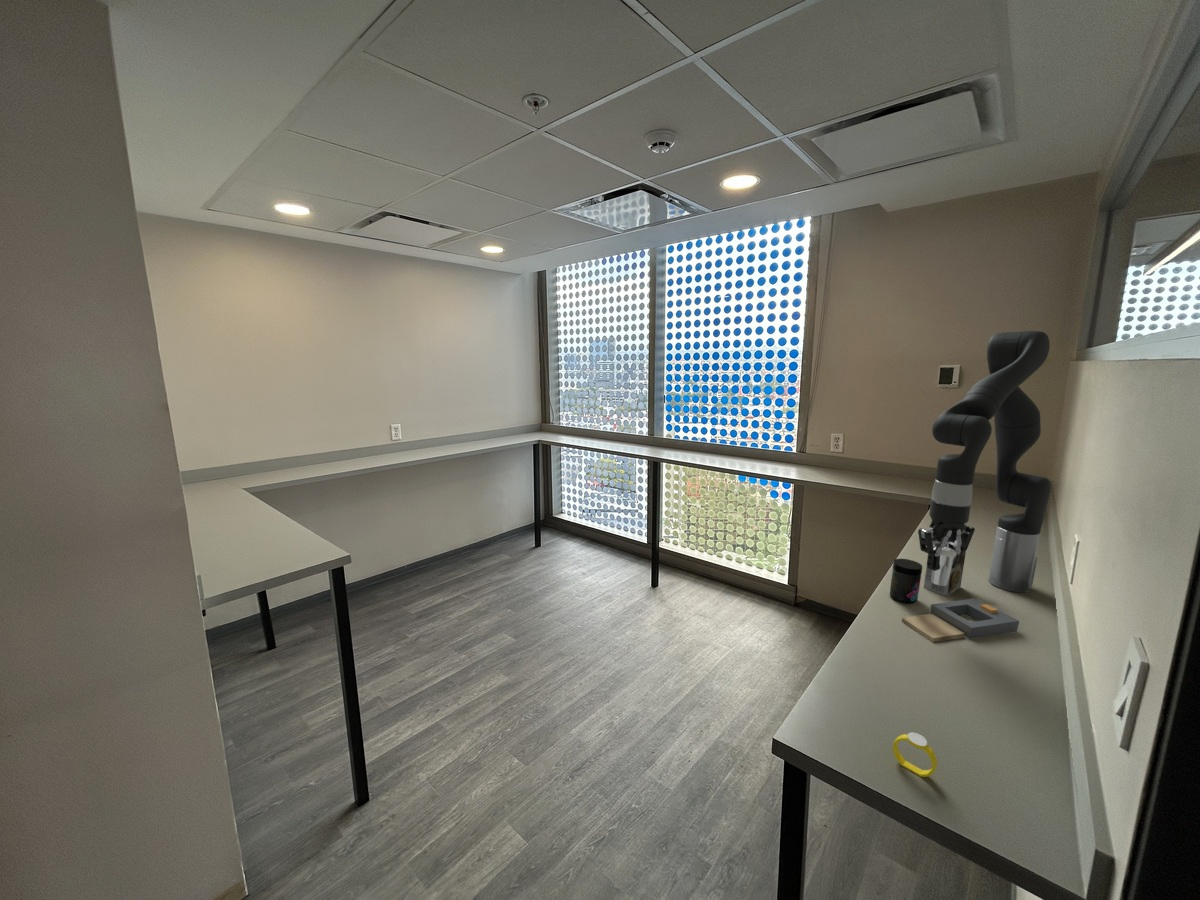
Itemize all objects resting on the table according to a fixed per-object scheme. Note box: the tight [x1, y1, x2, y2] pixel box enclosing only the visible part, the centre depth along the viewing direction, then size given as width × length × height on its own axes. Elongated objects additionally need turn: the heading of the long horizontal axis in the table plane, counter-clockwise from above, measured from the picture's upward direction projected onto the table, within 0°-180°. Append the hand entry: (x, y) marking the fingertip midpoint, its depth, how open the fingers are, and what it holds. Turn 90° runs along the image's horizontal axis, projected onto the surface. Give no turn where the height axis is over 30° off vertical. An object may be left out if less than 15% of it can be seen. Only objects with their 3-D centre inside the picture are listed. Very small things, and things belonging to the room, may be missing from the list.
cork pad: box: [901, 613, 965, 643], centre depth 118 cm, size 9×9×1 cm
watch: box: [892, 731, 938, 778], centre depth 78 cm, size 6×3×6 cm, turn 40°
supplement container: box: [889, 558, 923, 605], centre depth 132 cm, size 7×7×10 cm
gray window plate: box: [929, 598, 1020, 640], centre depth 120 cm, size 14×11×4 cm
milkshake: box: [931, 543, 957, 586], centre depth 115 cm, size 4×5×10 cm
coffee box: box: [923, 539, 967, 597], centre depth 137 cm, size 9×6×16 cm
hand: (941, 567), depth 115 cm, fingers closed on milkshake, 4 cm apart
